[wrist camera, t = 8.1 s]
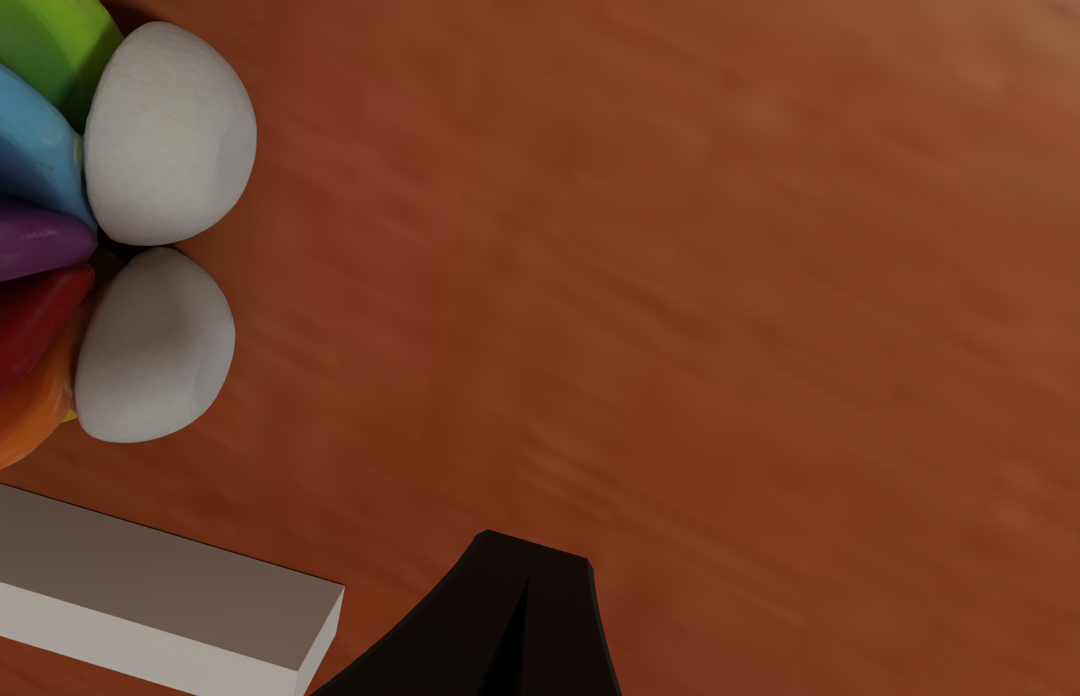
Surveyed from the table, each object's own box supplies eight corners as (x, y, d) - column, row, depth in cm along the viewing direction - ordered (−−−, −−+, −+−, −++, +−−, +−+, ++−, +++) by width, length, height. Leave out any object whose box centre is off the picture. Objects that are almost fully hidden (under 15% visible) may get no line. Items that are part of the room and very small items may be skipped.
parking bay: (335, 633, 23) (288, 723, 21) (-209, 471, 24) (-326, 536, 21) (504, -237, 16) (465, -280, 13) (-299, -445, 16) (-499, -528, 14)
